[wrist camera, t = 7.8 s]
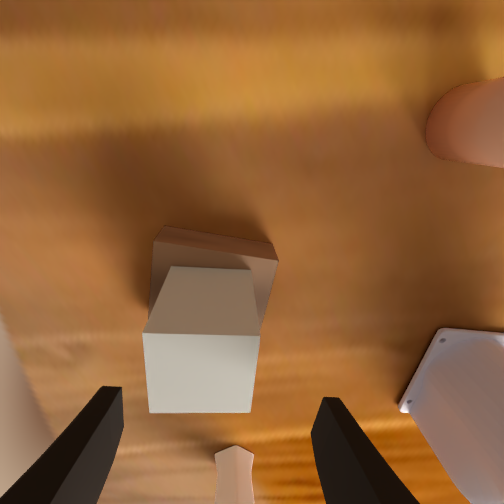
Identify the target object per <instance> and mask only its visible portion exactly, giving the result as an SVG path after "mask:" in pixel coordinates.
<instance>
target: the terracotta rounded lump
mask: <svg viewBox="0 0 504 504" xmlns="http://www.w3.org/2000/svg"><path fill="white" fill-rule="evenodd" d="M425 136H426V142H427V145H428V148H429V150H430V151H431V152H432V153H433V154H434V155H435V156H436V157H438V158H440V159H443V160H449V161H457V162H464V163H471V164H479V165H486V166H493V167H500V168H504V77H500V78H495V79H490V80H485V81H480V82H475V83H470V84H465V85H461V86H458V87H456V88H454V89H452V90H450V91H449V92H447V93H446V94H445V95H444V96H443V97H442V98H441V99H440V100H439V101H438V102H437V103H436V105H435V106H434V108H433V109H432V111H431V113H430V115H429V118H428V121H427V125H426V132H425Z"/></svg>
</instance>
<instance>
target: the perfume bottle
mask: <svg viewBox="0 0 504 504" xmlns="http://www.w3.org/2000/svg"><path fill="white" fill-rule="evenodd" d="M253 457H254V454H253V453H251V452H249V451H247V450H245V449H243V448H241V447H239V446H237V445H235V446H232V447H230V448H227V449H225V450H222V451H220V452H217V453H215V461H216V467H217V484H216V493H215V503H214V504H254V496H253V487H252V479H251V470H252V463H253Z"/></svg>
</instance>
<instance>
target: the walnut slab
mask: <svg viewBox="0 0 504 504" xmlns="http://www.w3.org/2000/svg"><path fill="white" fill-rule="evenodd" d="M278 262H279V260H278V257H277V255H276V252H275V249H274V246H273V244H271V243H265V242H259V241H253V240H247V239H241V238H235V237H229V236H223V235H217V234H211V233H205V232H199V231H193V230H187V229H181V228H175V227H169V226H164V227H163V228H162V230H161V231H160V232H159V234H158V235H157V237H156V238H155V239H154V241H153V255H152V269H151V283H150V298H149V312H148V319H149V317H150V314H151V312H152V310H153V307H154V305H155V303H156V300H157V298H158V296H159V293H160V291H161V289H162V286H163V284H164V282H165V279H166V277H167V275H168V272H169V270H170V268H171V266H179V267H199V268H220V269H241V270H251V273H252V280H253V287H254V294H255V301H256V308H257V315H258V322H259V329H261V325H262V322H263V318H264V314H265V310H266V307H267V303H268V299H269V295H270V292H271V288H272V284H273V280H274V277H275V273H276V269H277V266H278Z"/></svg>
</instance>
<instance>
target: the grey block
mask: <svg viewBox="0 0 504 504" xmlns="http://www.w3.org/2000/svg"><path fill="white" fill-rule="evenodd" d="M142 336H143V347H144V358H145V369H146V380H147V391H148V402H149V413H250V411H251V403H252V396H253V388H254V381H255V373H256V366H257V358H258V351H259V343H260V329H259V322H258V315H257V308H256V301H255V294H254V287H253V280H252V273H251V270H241V269H220V268H199V267H179V266H171V268H170V270H169V272H168V275H167V277H166V279H165V282H164V284H163V286H162V289H161V291H160V293H159V296H158V298H157V300H156V303H155V305H154V307H153V310H152V312H151V314H150V317H149V319H148V321H147V323H146V326H145V328H144V330H143V333H142Z"/></svg>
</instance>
